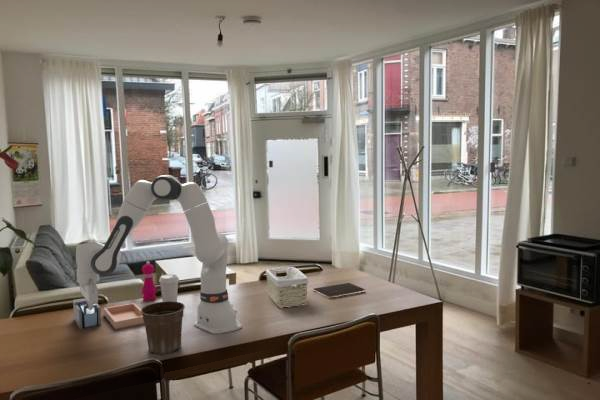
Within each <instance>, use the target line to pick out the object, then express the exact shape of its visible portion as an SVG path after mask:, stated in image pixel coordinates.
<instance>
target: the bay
mask: <svg viewBox="0 0 600 400" xmlns="http://www.w3.org/2000/svg"><path fill="white" fill-rule="evenodd" d="M83 303H86V299H85V297H84V298H78V299H73V300H72V304H73V319H74V322H75V323H76V325H77V326H78V328H79V330H82V329H83V322H82V310H81V309H80V307H79V304H83ZM94 304H96V305H97V323H98V324H97V326H101V325H102V318H101V317H102V315H101V314H102V313H101V306H100V305H99V304H98V303H94Z"/></svg>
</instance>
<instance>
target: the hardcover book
mask: <svg viewBox="0 0 600 400" xmlns="http://www.w3.org/2000/svg"><path fill="white" fill-rule="evenodd" d="M313 289H314V290H316V291H318V292H320V293H322V294H324V295H326V296H327V297H333V296H339V295H343V294H349V293H354V292H359V291H363V290H365V291H366V288H362V287H360V286H358V285H355V284H353V283H351V282H346V283H345V282H344V283H339V284H333V285H326V286H321V287H320V286H319V287H316V288H315V287H314V288H313Z"/></svg>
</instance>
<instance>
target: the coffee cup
mask: <svg viewBox="0 0 600 400" xmlns="http://www.w3.org/2000/svg"><path fill="white" fill-rule="evenodd" d="M179 281H180V278H179V276H178V274H174V273H171V274H170V273H169V274H163V275H161V276H160V278H159V280H158V282H159V284H160V290H161V291H160V292H161V302H166V301H175V302H178V290H179V289H178V287H179Z"/></svg>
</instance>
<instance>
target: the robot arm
mask: <svg viewBox="0 0 600 400" xmlns="http://www.w3.org/2000/svg"><path fill="white" fill-rule="evenodd" d="M157 199H158V200H160V201H172V200H173V201H174V200H176V201H178V203H179V204H180V206H181V208H182V211H183V213H184V215H185V216H184V217H186V220H187V224H188V225H189V229H190V231H191V235H192V236H191V237H192V241H193V244H194V249H195V250H194V252H195V253H194V255H195V257H196V259H197V260H198V261H199V262H200V263H202V265H201V266H202V267H201V271H200V291H199V299H200V302H199V304H198V305H197V308H196V309H197V311H196V312H197V313H196V321H194V324H193V326H194V327H197V328H199V329H201V330H202V331H203V330H204V331H205V332H207V333H209V334H213V335H215V334H217V335H218V334H225V333H229V332H233V331H236V330H240V329H241V328H242V327H243V326H242V323H241V322H240V321H239V320H238V319H237V318H236V317H237V314H238V310H237V309H236V308H233V304H232V303H231V302H230V300H229V292H228V289H227V267H228V266H227V265H228V253H229V252H228V251H229V240H228V239H229V238H227V236H226V235H224V234H223V233H220V232H217V228H216V224H215V223H216V222H215V217H214V214H213V211H212V209H211V206H210V204H209V202H208V199H207V197H206V196H205V194H204V192H203V190H202V188H201V187H200V186H199V184H198V183H196V182H194V181H193V182H192V181H188V182H186V183H182V182H181V181H180V179H179V178H178V177H176V176H174V175H171V174H162V175H158V176H156V177H155V178H154V179H153V180H152V182H150V181H148V180H146V179H145V180H144V179H140V180H137V181H136V182H134V184H133V185H132V187H130V189H129V191H128V192H127V194H126V196H125V197H124V199H123V202H122V203H121V206H120V207H119V211H118V215H117V217H116V220H115V224H114V227H113V228H112V231H111V233H110V235H109V236H108V239H107V240H106V241H105V244H104V243H101V242H99V241H98V240H97V239H95V238H94V239H93V238H92V239H86V240H82V241H81V242H79V243H78V244H77V245H76V250H75V263H76V265H77V267H76V282H77V283H78V285H79V289H80V293H81V294H82V296H83V297H84V298H85V299H86V303H87V305H88V309H89V310H92V309H93V304H94V303H97V304H98V303H99V293H98V286H97V282H99V281H100V276H109V275H110V274H112V273H114V271H115V270H116V268H117V267H118V266H119V264H120V263H121V261H122V259H123V258H122V257H123V255H122V252H121V249H122V246H123V245H124V243H125V241H126V239H127V238H128V236H129V235H130V234H131V232H132V231H134V229H135V228H137V226H138V225H139V224H141V222H142V221H143V220H144V218H145V217H146V215H147V214H148V213H149V210H150V209H151V206H152V204H153V202H154V201H155V200H157Z"/></svg>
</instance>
